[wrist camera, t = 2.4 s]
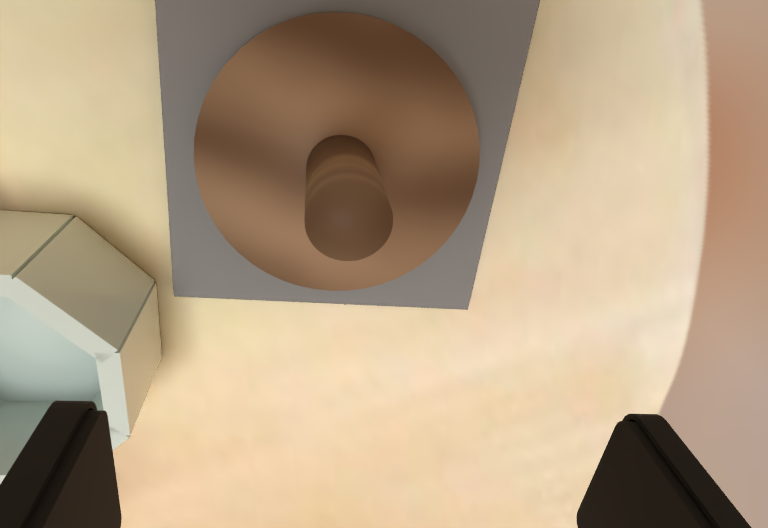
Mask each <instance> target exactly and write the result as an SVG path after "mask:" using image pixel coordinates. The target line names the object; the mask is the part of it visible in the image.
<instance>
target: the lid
mask: <svg viewBox="0 0 768 528" xmlns="http://www.w3.org/2000/svg"><path fill="white" fill-rule="evenodd" d="M479 156H480V144H479V136H478V128H477V124H476V120H475V116H474V112H473V109H472V106H471V104H470V102H469V99H468V97H467V94H466V92H465V90H464V89H463V87H462V85H461V83H460V82H459V80H458V78H457V76H456V75H455V74H454V73H453V71H452V70H451V69H450V67H449V66H448V65H447V64H446V62H445V61H444V60H443V59H442V58H441V57H440V56H439V55H438V54H437V53H436V52H435V51H434V50H433V49H432V48H431V47H429V46H428V45H427V44H425V43H424V42H422V41H421V40H420V39H418V38H417V37H415V36H414V35H412V34H411V33H409V32H407V31H405V30H403V29H401V28H399V27H398V26H396V25H394V24H392V23H389V22H386V21H384V20H381V19H378V18H375V17H372V16H367V15H362V14H357V13H351V12H334V11H333V12H321V13H312V14H307V15H303V16H299V17H295V18H292V19H289V20H286V21H284V22H281V23H279V24H276V25H274V26H272V27H271V28H269V29H267V30H265V31H264V32H262V33H260V34H258V35H257V36H256V37H254V38H253V39H252V40H250V41H249V42H248V43H247V44H245V45H244V46H243V47H242V48H241V49H240V50H239V51H238V52H237V53H236V54H235V55H234V56H233V57H232V58H231V59H230V60H229V61H228V62H227V63H226V64H225V65H224V67H223V68H222V70H221V71H220V72H219V74H218V75H217V77H216V78H215V80H214V81H213V83H212V84H211V86H210V89H209V91H208V93H207V95H206V97H205V99H204V101H203V104H202V107H201V110H200V113H199V116H198V119H197V125H196V131H195V136H194V165H195V174H196V179H197V183H198V187H199V191H200V194H201V197H202V199H203V202H204V204H205V207H206V209H207V211H208V213H209V215H210V217H211V218H212V220H213V222H214V224H215V226H216V227H217V228H218V230H219V231H220V232H221V234H222V235H223V236H224V238H225V239H226V240H227V241H228V242H229V244H230V245H231V246H232V247H233V248H234V249H235V250H236V251H237V252H238V253H239V254H241V255H242V256H243V257H244V258H245V259H247V260H248V261H249V262H250V263H252V264H253V265H255V266H256V267H258V268H259V269H261V270H263V271H264V272H266V273H268V274H270V275H272V276H274V277H276V278H278V279H280V280H283V281H286V282H289V283H292V284H294V285H297V286H302V287H306V288H311V289H317V290H327V291H348V290H356V289H364V288H368V287H372V286H376V285H380V284H383V283H386V282H388V281H391V280H394V279H396V278H398V277H400V276H402V275H404V274H406V273H408V272H410V271H412V270H413V269H415V268H416V267H418V266H419V265H421V264H422V263H424V262H425V261H426V260H427V259H429V258H430V257H431V256H432V255H433V254H435V253H436V252H437V251H438V250H439V249H440V248H441V247H442V246H443V245H444V244H445V242H446V241H447V240H448V239H449V238H450V236H451V235H452V234H453V232H454V231H455V230H456V228H457V227H458V225H459V223H460V222H461V220H462V218H463V216H464V215H465V213H466V211H467V208H468V206H469V204H470V201H471V199H472V196H473V193H474V189H475V185H476V182H477V176H478V169H479Z"/></svg>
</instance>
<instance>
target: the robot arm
mask: <svg viewBox="0 0 768 528" xmlns="http://www.w3.org/2000/svg"><path fill="white" fill-rule="evenodd" d="M577 525H578V528H751V527H750V525H749V524H748V523H747V522H746V520H745V519H744V518H743V517H742V515H741V514H740V513H739V512H738V510H737V509H736V508H735V507H734V505H733V504H732V503H731V502H730V500H729V499H728V498H727V496H725V494H724V493H723V491H721V489H720V488H719V486H718V485H717V484H716V483H715V481H714V480H713V479H712V478H711V476H710V475H709V474H708V473H707V471H706V470H705V469H704V468H703V466H702V465H701V464H700V463H699V461H698V460H697V459H696V458H695V456H694V455H693V454H692V453H691V451H690V450H689V449H688V448H687V446H686V445H685V444H684V442H683V441H682V440H681V439H680V437H679V436H678V435H677V434H676V433H675V431H674V430H673V429H672V428H671V426H670V425H669V424H668V422H667V421H666V420H665V419H664V418H663V417H662V416H659V415H657V414H628V415H626V416H625V417H624V419H623V420H622V421H620V422H618V423H617V425H616V426H615V428H614V431H613V433H612V435H611V437H610V440H609V442H608V444H607V446H606V449H605V451H604V453H603V456H602V458H601V460H600V462H599V465H598V467H597V469H596V471H595V474H594V476H593V478H592V480H591V483H590V485H589V487H588V489H587V492H586V494H585V496H584V498H583V501H582V503H581V505H580V507H579V510H578V513H577ZM120 527H121V510H120V503H119V495H118V488H117V481H116V473H115V466H114V458H113V451H112V444H111V436H110V429H109V422H108V415H107V412H106V411H103V410H97V407H96V404H95V403H94V402H92V401H57V400H56V401H55V402H53V403H52V404H51V405H50V407H49V408H48V409H47V411H46V413H45V414H44V416H43V417H42V419H41V421H40V422H39V424H38V425H37V427H36V429H35V430H34V432H33V433H32V435H31V436H30V438H29V440H28V441H27V443H26V444H25V446H24V448H23V449H22V451H21V452H20V454H19V456H18V457H17V459H16V460H15V462H14V463H13V465H12V467H11V468H10V470H9V471H8V473H7V475H6V476H5V478H4V479H3V481H2V483H1V484H0V528H120Z"/></svg>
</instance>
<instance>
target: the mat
mask: <svg viewBox="0 0 768 528" xmlns="http://www.w3.org/2000/svg"><path fill="white" fill-rule="evenodd" d="M539 2H540V0H155V5H156V21H157V37H158V52H159V68H160V84H161V100H162V115H163V131H164V147H165V163H166V179H167V194H168V210H169V226H170V242H171V257H172V273H173V289H174V296H179V297H201V298H223V299H245V300H267V301H289V302H311V303H333V304H355V305H377V306H399V307H421V308H443V309H465V310H468V306H469V301H470V297H471V293H472V289H473V284H474V280H475V276H476V272H477V267H478V263H479V259H480V254H481V250H482V246H483V242H484V237H485V233H486V229H487V225H488V220H489V216H490V212H491V207H492V203H493V199H494V195H495V190H496V186H497V182H498V178H499V173H500V169H501V165H502V160H503V156H504V152H505V148H506V143H507V139H508V135H509V131H510V126H511V122H512V118H513V113H514V109H515V105H516V101H517V96H518V92H519V88H520V84H521V79H522V75H523V71H524V66H525V62H526V58H527V54H528V49H529V45H530V41H531V37H532V32H533V28H534V24H535V20H536V15H537V11H538V7H539ZM333 11H334V12H351V13H357V14H362V15H367V16H372V17H375V18H378V19H381V20H384V21H386V22H389V23H392V24H394V25H396V26H398V27H399V28H401V29H403V30H405V31H407V32H409V33H411V34H412V35H414V36H415V37H417V38H418V39H420V40H421V41H422V42H424V43H425V44H427V45H428V46H429V47H431V48H432V49H433V50H434V51H435V52H436V53H437V54H438V55H439V56H440V57H441V58H442V59H443V60H444V61H445V62H446V64H447V65H448V66H449V67H450V69H451V70H452V71H453V73H454V74H455V75H456V76H457V78H458V80H459V82H460V83H461V85H462V87H463V89H464V90H465V92H466V94H467V97H468V99H469V102H470V104H471V106H472V109H473V112H474V116H475V120H476V124H477V128H478V136H479V144H480V156H479V169H478V176H477V182H476V185H475V189H474V193H473V196H472V199H471V201H470V204H469V206H468V208H467V211H466V213H465V215H464V216H463V218H462V220H461V222H460V223H459V225H458V227H457V228H456V230H455V231H454V232H453V234H452V235H451V236H450V238H449V239H448V240H447V241H446V242H445V244H444V245H443V246H442V247H441V248H440V249H439V250H438V251H437V252H436V253H435V254H433V255H432V256H431V257H430V258H429V259H427V260H426V261H425V262H424V263H422V264H421V265H419V266H418V267H416V268H415V269H413V270H412V271H410V272H408V273H406V274H404V275H402V276H400V277H398V278H396V279H394V280H391V281H388V282H386V283H383V284H380V285H376V286H372V287H368V288H364V289H356V290H348V291H327V290H317V289H311V288H306V287H302V286H297V285H294V284H292V283H289V282H286V281H283V280H280V279H278V278H276V277H274V276H272V275H270V274H268V273H266V272H264V271H263V270H261V269H259V268H258V267H256V266H255V265H253V264H252V263H250V262H249V261H248V260H247V259H245V258H244V257H243V256H242V255H241V254H239V253H238V252H237V251H236V250H235V249H234V248H233V247H232V246H231V245H230V244H229V242H228V241H227V240H226V239H225V238H224V236H223V235H222V234H221V232H220V231H219V230H218V228H217V227H216V226H215V224H214V222H213V220H212V218H211V217H210V215H209V213H208V211H207V209H206V207H205V204H204V202H203V199H202V197H201V194H200V191H199V187H198V183H197V179H196V174H195V165H194V136H195V131H196V125H197V119H198V116H199V113H200V110H201V107H202V104H203V101H204V99H205V97H206V95H207V93H208V91H209V89H210V86H211V84H212V83H213V81H214V80H215V78H216V77H217V75H218V74H219V72H220V71H221V70H222V68H223V67H224V65H225V64H226V63H227V62H228V61H229V60H230V59H231V58H232V57H233V56H234V55H235V54H236V53H237V52H238V51H239V50H240V49H241V48H242V47H243V46H244V45H245V44H247V43H248V42H249V41H250V40H252V39H253V38H254V37H256V36H257V35H258V34H260V33H262V32H264V31H265V30H267V29H269V28H271V27H272V26H274V25H276V24H279V23H281V22H284V21H286V20H289V19H292V18H295V17H299V16H303V15H307V14H312V13H321V12H333Z"/></svg>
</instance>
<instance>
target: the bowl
mask: <svg viewBox="0 0 768 528" xmlns="http://www.w3.org/2000/svg"><path fill="white" fill-rule="evenodd" d="M154 281H155V280H154V279H152V278H151V277H150V276H149V275H148V274H146V273H145V272H144V271H143V270H141V269H140V268H139V267H138V266H137V265H135V264H134V263H133V262H132V261H130V260H129V259H128V258H127V257H126V256H124V255H123V254H122V253H121V252H119V251H118V250H117V249H116V248H115V247H113V246H112V245H111V244H110V243H108V242H107V241H106V240H105V239H104V238H102V237H101V236H100V235H99V234H97V233H96V232H95V231H94V230H93V229H91V228H90V227H89V226H88V225H86V224H85V223H84V222H83V221H82V220H80V219H79V218H78V217H77V216H76V217H75V218H74V219H73V215H68V214H53V213H38V212H23V211H8V210H0V484H1V483H2V481H3V479H4V478H5V476H6V475H7V473H8V471H9V470H10V468H11V467H12V465H13V463H14V462H15V460H16V459H17V457H18V456H19V454H20V452H21V451H22V449H23V448H24V446H25V444H26V443H27V441H28V440H29V438H30V436H31V435H32V433H33V432H34V430H35V429H36V427H37V425H38V424H39V422H40V421H41V419H42V417H43V416H44V414H45V413H46V411H47V409H48V408H49V407H50V405H51V404H52V403H53V402H55V401H56V400H57V401H92V402H94V403H95V404H96V407H97V410H103V411H106V412H107V415H108V422H109V429H110V436H111V444H112V450H113V449H115V448H116V447H117V446H119V445H120V444H121V443H123V442H124V441H125V440H127V439H128V438H129V437H130V435H131V432H132V430H133V427H134V425H135V422H136V420H137V417H138V415H139V412H140V410H141V407H142V405H143V402H144V400H145V397H146V395H147V392H148V390H149V387H150V385H151V382H152V380H153V377H154V375H155V373H156V370H157V368H158V365H159V363H160V360H161V358H162V348H161V336H160V323H159V311H158V298H157V286H156V283H154Z"/></svg>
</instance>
